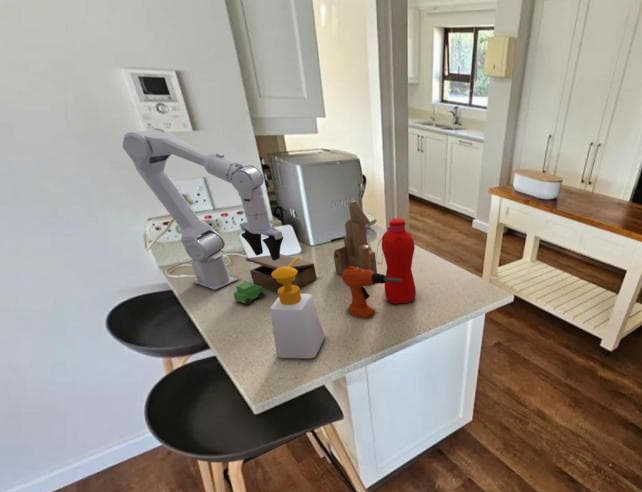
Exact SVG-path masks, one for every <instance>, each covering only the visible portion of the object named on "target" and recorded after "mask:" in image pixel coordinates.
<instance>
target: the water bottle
mask: <svg viewBox="0 0 642 492" xmlns="http://www.w3.org/2000/svg"><path fill="white" fill-rule="evenodd" d="M388 225H389V227H387V230H386V231H385V232H384V233H383V235H382V237H381V238H380V239H379V242H378V245H377V247H379V245H380V242H381V252H382V255H383V258H384V260H385V264H386V271H385V276H386V277H388V278H395V279H401V280H402V281H401V282H387V281H386V282H385V283H384V295H385V299H386V301H387V302H389V303H391V304H405V303H406V304H407V303H411V302H413V301H415V298H416V295H417V290H416V284H415V280H414V276H413V270H412V265H413V258H414V253H415V248H416V247H415V240H414V238H413V236H412V234H411V232H410V231H409V230H407V229H406V225H408V223H407V222H406V221H405V219H404V218H399V217H394V218H391V219H390V220H389V223H388ZM378 250H379V248H377V249H376V252H378ZM384 260H382V261H381V262H380V263H379V261H378V260H376V263H378V265H382V264H383V262H384Z"/></svg>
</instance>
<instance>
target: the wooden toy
mask: <svg viewBox="0 0 642 492" xmlns="http://www.w3.org/2000/svg"><path fill="white" fill-rule="evenodd" d="M348 206H349V215H350V218H349V219H347V221H346V222H345V224H344V228H345V229H344V230H345V235H344V236H343V243H344V246H341V247H338V248H336V249H335V250H334V251H333V261H334V268H335V273H337V274H339V275H341V276H342V273H343V272H344V271H345V270H346V269H347V268H348V267H350V266H353V267H355V268H359V269H363V270H371V271H373V272H376V273H378V269H377V256H376V252H375V251H374V250H373V249H372V248H371V247H370V245H369V243H368V238H367V237H368V236H367V227H366V225H370V224H371V221H370V219H369V218H368V216H367V215H366V214H365V212H364V211H363V209H362V208H361V207H360V205H359V204H358V202H357V201H356V200H352V201H349V202H348Z"/></svg>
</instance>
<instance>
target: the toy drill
mask: <svg viewBox="0 0 642 492" xmlns="http://www.w3.org/2000/svg"><path fill="white" fill-rule="evenodd" d="M341 280H342V281H343V284H344V285H346V286H347V287H348V288H349V290H350V293H351V303H350V304H349V305H348V313H349V314H350V315H351V316H354V317H358V318H362V319H369V318H371V317H372V316H374V315H375V309H374V307H372V306H370V305H368V303H367V300H368V299H369V298H370V297H371V296H370V295H371V294H369V293H368V292H367V290H366V288H365V287H367V286H368V287H369V286H373V285H374V286H375V285H376V284H377V285H378V284H383V285H384V284H385V282H386V281H387V282H401V281H402V280H401V279H395V278H388V277H386V274H381V273H378V272H377V273H376V272H373V271H371V270H363V269H359V268H358V267H356V268H355V267H353V266H350V267H348V268H347V269H346V270H345V271H344V272H343V273H342V275H341Z"/></svg>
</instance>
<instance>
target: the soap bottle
mask: <svg viewBox="0 0 642 492" xmlns="http://www.w3.org/2000/svg"><path fill="white" fill-rule="evenodd" d="M295 258H296V259H294V260H293V261H292V262H291V263H290V264H289V265H288V267H280V268H277V269H276V270H274V271H273V272H272V274H271V276H272V277H273V278H275V279H276V280H277V282H279V283H283V285H284V286H283V287H280V288H279V289H278V292H277V295H278V297H277V298H276V299H275V301H274V302H273V304H272V305H270V309H269V313H270V319H271V326H272V332H273V338H274V345H275V352H276V356H277V357H279V358H281V359H314V358H315V357H317V354H318V352H319V350H320V348H321V346H322V344H323V341H324V340H325V338H326V337H325V333H324V330H323V326H322V323H321V319H320V317H319V314H318V310H317V307H316V303H315V301H314V298H313V295H312V294H310V293H301V288H299V287H298V286H296V285H291V282H292V281H294V280H295V275H297V273H298V271H297V270H296V269H294V268H292V267H291V266H292V264H293V263H294V262H295V261H297V260H298V259H300V258H301V257H300V256H298V257H295ZM300 260H301V259H300Z"/></svg>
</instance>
